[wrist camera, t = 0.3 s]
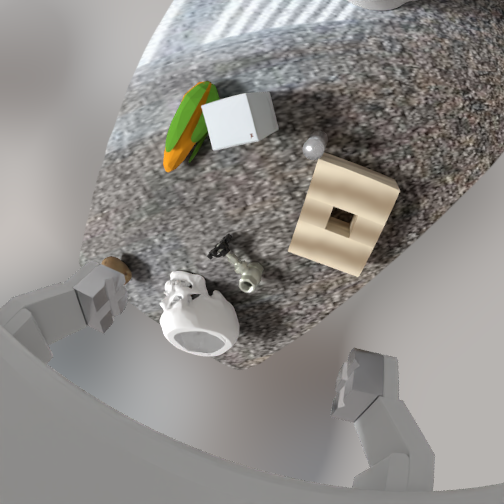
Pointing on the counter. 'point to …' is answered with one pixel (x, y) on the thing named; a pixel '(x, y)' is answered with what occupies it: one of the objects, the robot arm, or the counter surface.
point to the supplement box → (240, 119)
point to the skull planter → (197, 317)
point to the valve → (239, 266)
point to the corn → (188, 125)
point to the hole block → (351, 200)
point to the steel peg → (315, 145)
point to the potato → (118, 267)
